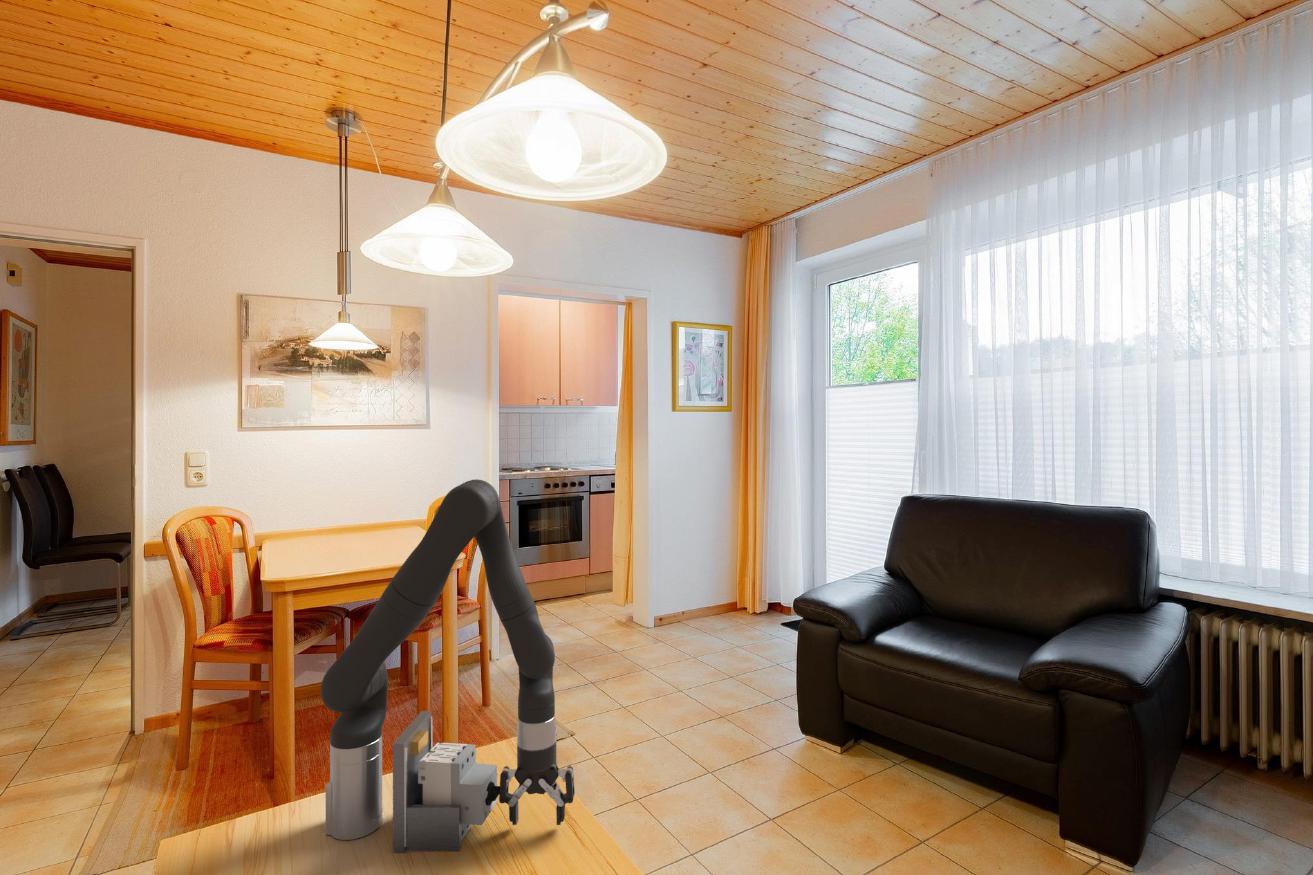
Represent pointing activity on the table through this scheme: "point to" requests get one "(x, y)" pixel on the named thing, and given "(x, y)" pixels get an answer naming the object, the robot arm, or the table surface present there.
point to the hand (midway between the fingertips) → (537, 822)
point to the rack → (419, 797)
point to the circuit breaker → (459, 782)
